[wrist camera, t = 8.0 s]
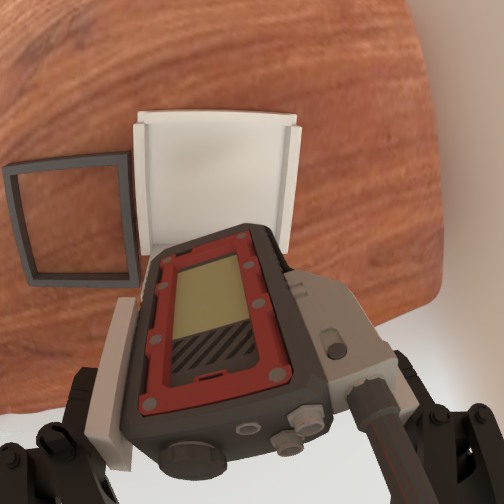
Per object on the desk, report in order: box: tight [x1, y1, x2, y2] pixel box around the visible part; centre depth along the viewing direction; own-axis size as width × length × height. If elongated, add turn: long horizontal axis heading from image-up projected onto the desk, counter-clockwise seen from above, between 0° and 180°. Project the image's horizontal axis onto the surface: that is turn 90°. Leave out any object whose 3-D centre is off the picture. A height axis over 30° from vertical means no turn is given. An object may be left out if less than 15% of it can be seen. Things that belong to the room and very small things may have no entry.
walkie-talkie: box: [120, 223, 439, 504], centre depth 11 cm, size 9×4×20 cm, turn 106°
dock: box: [133, 109, 302, 301], centre depth 28 cm, size 15×15×10 cm
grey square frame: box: [2, 151, 141, 288], centre depth 31 cm, size 15×15×2 cm
